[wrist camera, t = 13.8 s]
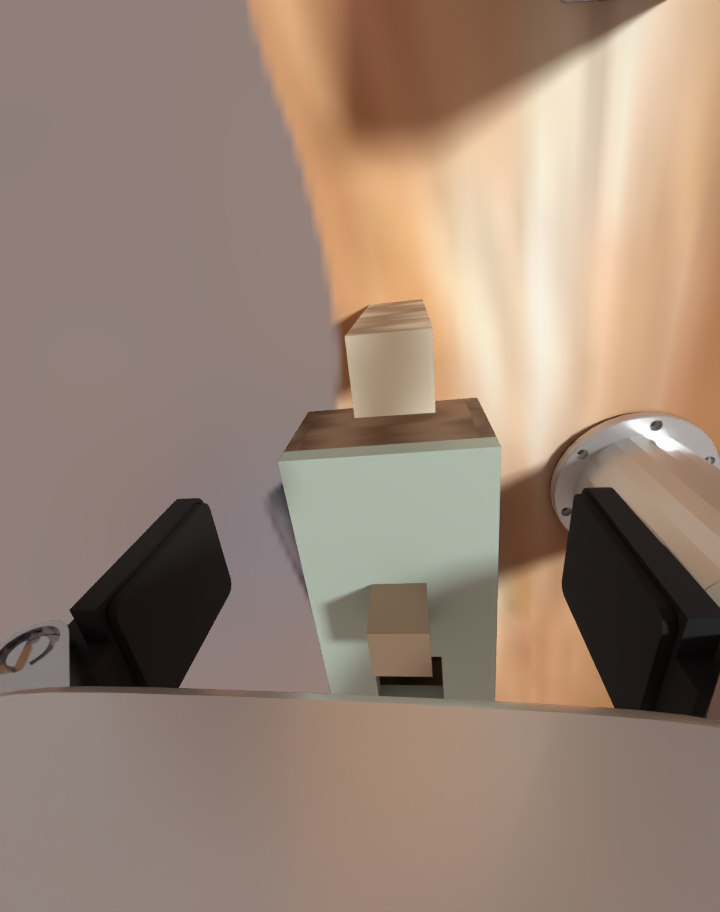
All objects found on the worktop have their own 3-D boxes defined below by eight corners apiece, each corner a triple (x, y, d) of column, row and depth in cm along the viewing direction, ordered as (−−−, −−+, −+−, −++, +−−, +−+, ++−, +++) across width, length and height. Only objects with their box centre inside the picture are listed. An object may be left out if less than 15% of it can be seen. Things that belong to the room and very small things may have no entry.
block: (422, 299, 31) (432, 327, 18) (424, 353, 32) (435, 412, 20) (368, 305, 31) (344, 336, 19) (373, 358, 33) (354, 418, 21)
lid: (496, 436, 26) (519, 483, 21) (491, 702, 37) (505, 778, 32) (283, 451, 28) (254, 498, 23) (338, 699, 39) (327, 770, 34)
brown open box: (477, 397, 33) (496, 436, 26) (477, 630, 44) (491, 702, 37) (308, 411, 35) (283, 451, 28) (349, 631, 46) (338, 699, 39)
